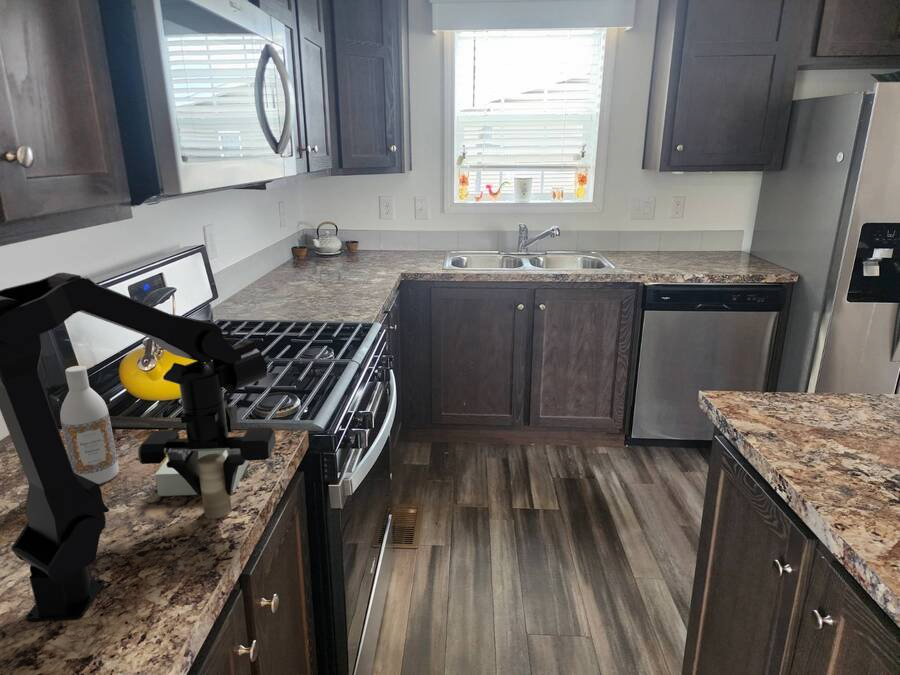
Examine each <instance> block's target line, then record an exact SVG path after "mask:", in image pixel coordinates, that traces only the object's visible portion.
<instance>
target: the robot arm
mask: <svg viewBox="0 0 900 675" xmlns="http://www.w3.org/2000/svg"><path fill="white" fill-rule="evenodd" d="M78 312H80V313H82V314H84V315H85V314H86V315H87V316H91V317H93V318H95V319H100V320H101V321H104V322H107V323H110V324H112V325H116V326H118V327H121V328H124V329H126V330H129V331H132V332H134V333H137V334H141V335H142V336H145V337H147V338H149V339H150V340H151V341H152V342H153V343H155V345H157V346H158V347H160V348H162V349H163V350H165V351H167V352H168V353H170V354H171V355H174V356H177V357H180V358H184V359H189V360H192V362H190V363H187V364H182V363H179V362H173V363H172V366H171V367H170V369H168V370H167V371H166V372H165V373H164V375H163V378H162V379H163V380H164V381H166V382H170V383H172V384H177V385H179V391H180V397H181V405H182V412H183V413H182V415H181V416H180V422H181V424H184V425H185V431H186V432H185V433H186V438H184V437H183V438H180V433H179V431H178V430H176V429H175V430H174V429H173V430H168V429H166V430H153V431H152V432H151V433H150V434H149V435H148V436H147V438H146V439H145V440H144V441H143V442H142V443H141V444H140V445H139V447H138V450H137V451H138V452H137V454H138V455H139V459H138V461H139V463H140V464H141V465H151V464H155V465H156V464H161V463H162V462H163V461H164V460H165V459H166V457H167V458H168V462H167V464H166V465H167V467H168V468H173V469H175V470H176V471H177V472H178V473H179V474H180V475H181V476H182V477H183V478H184V479H185V480H186V481H187V482H188V483H189V485H190V486H191V487H192V488H193V490H194V491H195V492H196V493H197V494H198V495H197V496H198V497H202V493H201V487H200V480H199V473H198V466H197V461H198V451H215V450H227V453H228V456H227V457H226V459H225V461H224V463H223V468H224V477H225V486H226V491H227V494H228V495H230V496H231V494H233V493H232V490H233V486H234V482H235V478H236V474H237V470H238V467H239V465H243V464H244V463H245V461H246V460H247V461H249V462H251V461H266V460H268V459H270V457H271V454H272V452H273V451H274V450H273V449H274V447H275V446H276V444H277V439H276V437H277V436H276V432H275V431H274V430H273V429H272V427H248V428H247V430H246V432H245V434H237V435H234V436H229V433H233V431H234V426H237V425H238V405H236V404H235V405H232V404H231V405H228V402H227V399H225V398H224V397H225V396H224V392H223V391H224V390H226V391H227V392H235V391H237V390H239V389H243V388H244V387H247V386H249V385H252V384H254V383H256V382H259V381H261V380H263V379H265V378H266V376H267V374H268V363H267V361H266V360H265V358H264V355H263V354H262V353H261V351H260V350H258V349H257V345H256V341H254V340H249V339H245V340H242V341H239V342H238V343H236V344H233V345H231V344H230V343H229V342H228V340H227V339H226V338H225V337H224V334H223V329H222V327H221V326H219V324H217V323H214V322H210V321H205V320H201V319H196V318H191V317H187V316H181V315H177V314H173V313H172V314H171V313H168V312H165V311H163V310H161V309H158V308H156V307H153V306H151V305H149V304H146V303H144V302H141V301H140V300H136V299H134V298H132V297H130V296H127V295H125V294H122V293H120V292H118V291H116V290H113V289H110V288H109V287H106V286H103V285H101V284H98V283H96V282H94V281H93V280H91V278H89V277H87V276H84V275H79V274H73V273H69V272H57V273H54V274H53V275H52V274H51V275H50V276H48V277H45V278H42V279H39V280H36V281H31V282H28V283H23V284H18V285H14V286H11V287H10V286H9V287H7V288H3V289H0V413H1V415H2V418H3V421H4V424H5V425H6V428H7V431H8V433H9V436H10V438H11V441H12V443H13V446H14V449H15V452H16V453H17V457H18V459H19V461H20V464H21V466H22V469H23V471H24V474H25V477H26V479H27V482H28V483H27V484H28V489H27V494H26V499H25V509H26V516H27V523H26V525H25V526H24V528H23V529H22V531H21V532H20V534H19V535H18V537H17V538H16V540H15V542H14V543H13V544H12V546H11V549H10V550H11V552H12V553H13V554H14V555H15V556H16V557H17V559H19V560H21V561H23V562H25V563H27V564H28V565H30V566H29V571H30V572H29V573H30V576H29V577H28V578H29V581H30V586H31V591H32V594H33V598H34V602H35V604H34V606H33V607H32V608H31V609H30V611H29V612H28V613H27V614H26V615H25V619H26V622H40V621H58V620H59V621H60V620H62V621H63V620H77V619H81V618H82V617H83V616H84V614H85V613H86V611H87V610H88V609H89V607H90V606H91V605H92V603H93V602H94V600H95V599H96V597H97V596H98V595H99V593H100V591H101V590H102V588H103V587H104V586H105V584H106V583H105V580H104V579H92V573H91V568H90V565H92V564H93V563H95V562H96V559H97V555H98V548H99V542H100V538H101V534H102V531H103V530H104V529H105V528H106V526H107V525H106V524H107V519H106V515H105V513H109V511H110V509H109V508H108V507H107V506H106V505H105V503H104V501H103V495H102V489H101V487H100V484H97V483H95V482H93V481H91V480H89V479H87V478H84V477H82V476H80V475H78V474H76V473H74V472H73V469H72V466H71V463H70V461H69V457H68V453H67V448H66V445H65V444H64V441H63V439H62V436H61V433H60V429H59V427H58V424H57V421H56V418H55V415H54V412H53V410H52V407H51V404H50V402H49V399H48V395H47V393H46V390H45V387H44V383H43V382H42V378H41V376H40V373H39V367H40V366H39V365H40V360H41V355H42V350H43V343H42V336H41V335H42V334H45V333H46V332H49V331H51V330H53V329H55V328H58V327H59V326H60V325H62V324H63V323H64V322H65V321H66V320H68V319H69V318H70V317H72V316H73V315H74V314H76V313H78ZM223 389H224V390H223ZM138 455H137V456H138Z"/></svg>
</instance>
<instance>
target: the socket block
mask: <svg viewBox="0 0 900 675" xmlns="http://www.w3.org/2000/svg"><path fill="white" fill-rule="evenodd" d="M209 454H222V455H224V456H225V459H226V457H227V456H228V453H227V450H215V451H198V459H200V458H201V457H203V456H205V455H209ZM165 459H166V460H165V461H164V462H163V463H162V464H161V466H160V467H159V468H158V470H157V471H156V473H155V474H154V477H155V483H156V490H157V495H158V497H169V496H195V495H196V496H198V494H197V493H196V492H195V491H194V490H193V488H192V487H191V486H190V485H189V483H188V482H187V481H186V480H185V479H184V478H183V477H182V476H181V475H180V474H179V473H178V472H177V471H176V470H175V469H173V468H168V467H167V465H166V464H167V462H168V457H167V458H165ZM249 463H250V461H247V460H246V461H245V463H244V464H243V465H239V467H238V470H237V474H236V478H235V482H234V486H233V490H232V493H231V494H234V492H235V491H236V489H237V487H238V485H239V483H240V481H241V479H242V477H243V475H244V473H245V471H246V469H247V467H248V465H249Z"/></svg>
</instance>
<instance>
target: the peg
mask: <svg viewBox="0 0 900 675" xmlns="http://www.w3.org/2000/svg"><path fill="white" fill-rule="evenodd" d="M224 461H225V456H224V455H222V454H209V455H205V456H203V457H201V458H200V459H198V461H197V466H198V473H199V480H200V487H201V493H202V496H201V499H202V506H203V512H204V514H203V515H204V516H205V518H207V519H214V520H215V519H220V518H223V517H226V516H227V515H228V514H230V513H231V511H232V510H233V509H232V502H231V501H232V500H231V495H228V494H227V491H226V486H225V477H224V468H223V463H224Z"/></svg>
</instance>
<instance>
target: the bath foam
mask: <svg viewBox="0 0 900 675" xmlns="http://www.w3.org/2000/svg"><path fill="white" fill-rule="evenodd" d="M65 377H66V382H67V386H68V392H67V394H66V396H65V398H64V400H63V402H62V405H61V407H60V415H59V416H60V417H59V418H60V425H61V429H62V433H63V438H64V443H65V444H64V445H65V449H66V452H67V455H68V458H69V461H70V463H71V466H72V469H73V472H74V473H76V474H78V475H80V476H82V477H84V478H87V479H89V480H91V481H93V482H95V483H97V484H99V485H101V484H104V483H107V482H108V481H110V480H112V479H114V478H115V477H116V476H117V475H118V474H119V471H120V467H119V462H118V456H117V455H118V454H117V449H116V445H115V438H114V434H113V429H112V424H111V418H110V413H109V410H108V406H107V404H106V402H105V400H104V399H103V398H102V396H101V395H99V394H98V392H97V391H95V390H94V389H93V388H91V387H90V382H89V376H88V371H87V367H86V366H84V365H74V366H70V367H68V368H66V369H65Z"/></svg>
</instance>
